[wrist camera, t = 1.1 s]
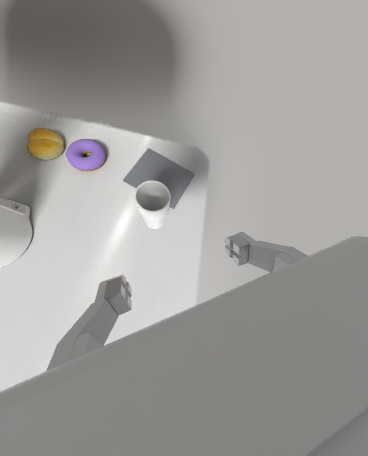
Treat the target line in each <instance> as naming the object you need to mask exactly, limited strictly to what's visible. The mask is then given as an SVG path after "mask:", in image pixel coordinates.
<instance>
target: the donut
mask: <svg viewBox="0 0 368 456" xmlns="http://www.w3.org/2000/svg"><path fill="white" fill-rule="evenodd" d="M87 153H91V155H90V156H88V157H83V156H84V155H85V154H87ZM66 156H67V159H68V161H69V162H70V163H71V165H72V166H74V167H75V168H77V169H79V170H82V171H93V170H96V169H98V168H99V167H101V166H102V165H103V163H104V161H105V151H104V149H103V147H102V146H101V145H100V144H99V143H97V142H96V141H93V140H90V139H81V140H77V141H75V142H73V143H72V144H71V145H70V146H69V148H68V150H67V153H66Z"/></svg>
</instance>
